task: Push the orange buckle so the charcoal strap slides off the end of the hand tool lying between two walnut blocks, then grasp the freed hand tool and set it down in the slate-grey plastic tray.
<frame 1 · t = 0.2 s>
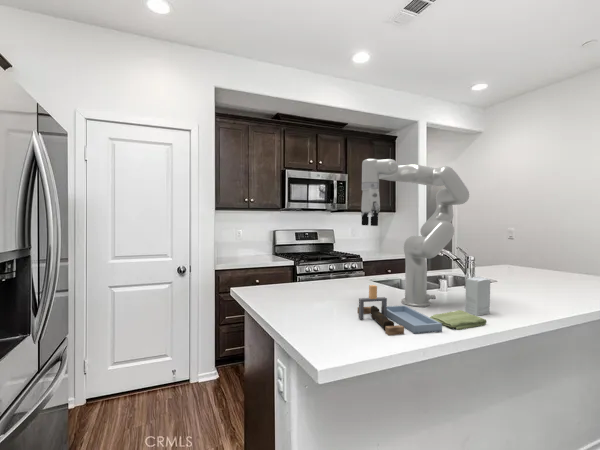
hand: (369, 225, 142), 36 cm above the countertop, tool pointing down, fingers open, 9 cm apart
skincare box: (477, 313, 134), on the countertop
tray: (408, 321, 122), on the countertop
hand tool: (378, 323, 121), on the countertop
washcloth: (457, 324, 122), on the countertop
strap: (372, 301, 126), point 7 cm above the countertop, slide at 0.0 cm
cradle: (378, 322, 121), on the countertop
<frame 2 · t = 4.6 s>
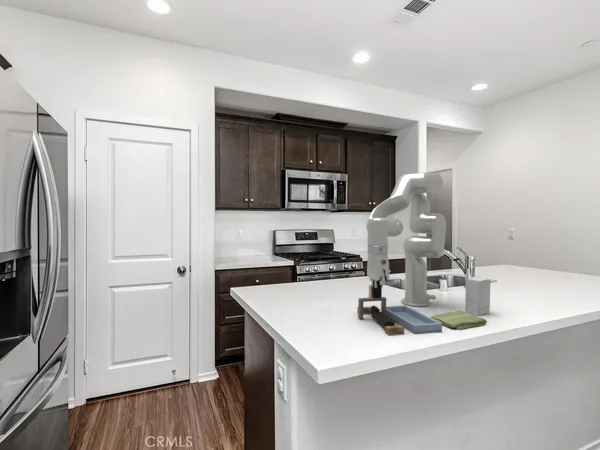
hand: (376, 297, 123), 9 cm above the countertop, tool pointing down, fingers closed
strap: (372, 301, 126), point 7 cm above the countertop, slide at 0.4 cm, touching gripper
everything else where it was.
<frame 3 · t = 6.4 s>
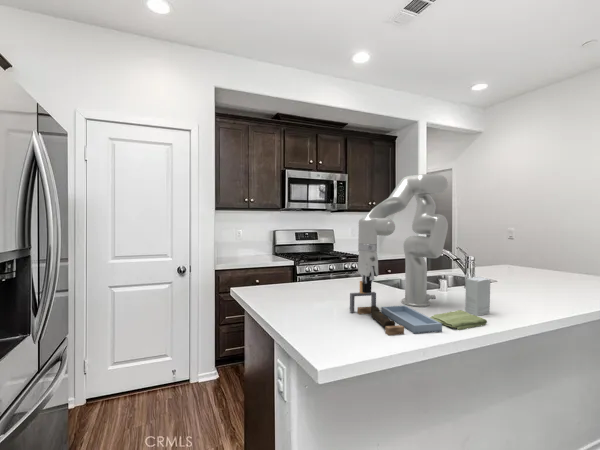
hand: (366, 292, 131), 9 cm above the countertop, tool pointing down, fingers closed
strap: (363, 296, 135), point 7 cm above the countertop, slide at 9.3 cm, touching gripper
everything else where it was.
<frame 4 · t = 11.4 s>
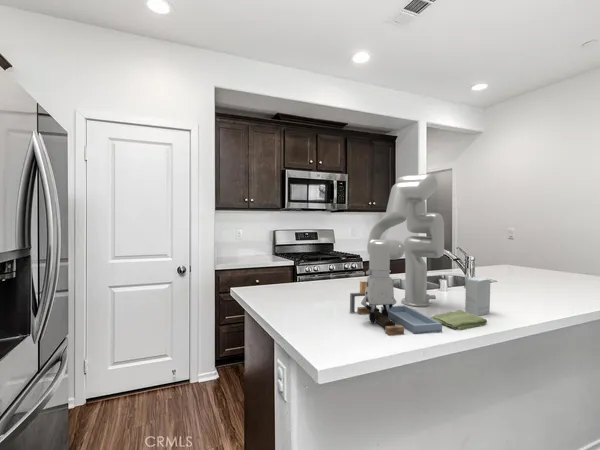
hand: (378, 321, 121), 1 cm above the countertop, tool pointing down, fingers open, 4 cm apart
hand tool: (378, 323, 121), on the countertop, touching gripper
strap: (363, 296, 135), point 7 cm above the countertop, slide at 9.0 cm
everything else where it was.
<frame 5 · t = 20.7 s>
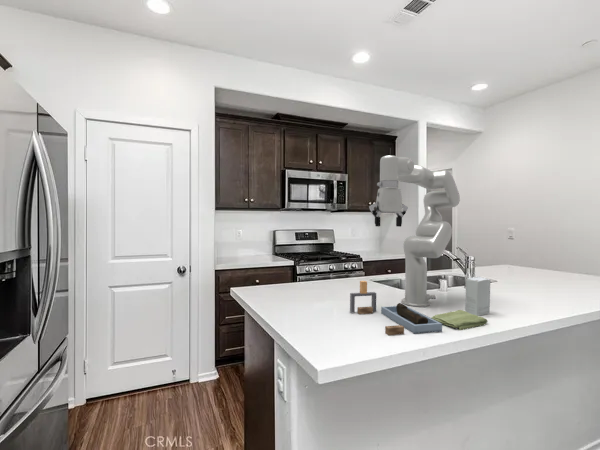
hand: (388, 226, 134), 36 cm above the countertop, tool pointing down, fingers open, 9 cm apart
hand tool: (407, 320, 122), resting on tray
everything else where it was.
at the end: strap slide at 9.0 cm; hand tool inside the target area on the tray (0.5 cm from its centre), point 0.4 cm above the tray's base; the gripper is holding nothing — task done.
